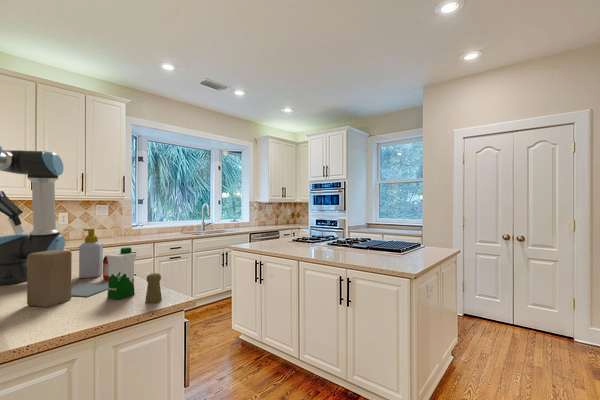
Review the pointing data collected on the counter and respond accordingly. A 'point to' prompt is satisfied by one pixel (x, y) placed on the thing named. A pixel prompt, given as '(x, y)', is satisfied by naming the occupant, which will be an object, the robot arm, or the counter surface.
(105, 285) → the mat
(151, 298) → the olive peg figure
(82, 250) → the soap bottle
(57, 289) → the block
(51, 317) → the counter surface
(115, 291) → the milk carton
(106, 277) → the beverage can
